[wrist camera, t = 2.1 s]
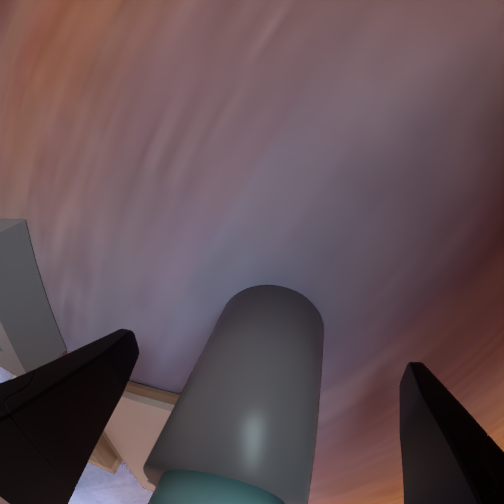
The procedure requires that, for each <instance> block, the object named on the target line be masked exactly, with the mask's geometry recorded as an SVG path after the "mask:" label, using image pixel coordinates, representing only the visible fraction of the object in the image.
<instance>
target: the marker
mask: <svg viewBox="0 0 504 504" xmlns="http://www.w3.org/2000/svg"><path fill="white" fill-rule="evenodd" d="M323 337H324V326H323V321H322V318H321V316H320V313H319V312H318V310H317V309H316V307H315V306H314V305H313V304H312V303H311V302H310V301H309V300H308V299H307V298H306V297H304V296H303V295H301V294H300V293H298V292H296V291H294V290H291V289H288V288H285V287H281V286H275V285H260V286H254V287H250V288H247V289H245V290H243V291H241V292H239V293H238V294H236V295H235V296H234V297H233V298H232V299H230V301H229V302H228V303H227V305H226V307H225V309H224V311H223V313H222V315H221V316H220V318H219V320H218V322H217V324H216V326H215V328H214V330H213V332H212V334H211V336H210V338H209V340H208V342H207V344H206V346H205V348H204V350H203V351H202V353H201V355H200V357H199V359H198V361H197V363H196V365H195V367H194V369H193V371H192V373H191V375H190V377H189V379H188V381H187V383H186V384H185V386H184V388H183V390H182V392H181V394H180V396H179V398H178V400H177V402H176V404H175V406H174V408H173V410H172V412H171V414H170V416H169V417H168V419H167V421H166V423H165V425H164V427H163V429H162V431H161V433H160V435H159V437H158V439H157V441H156V443H155V445H154V446H153V448H152V450H151V452H150V454H149V456H148V458H147V460H146V462H145V464H144V466H143V471H144V474H145V475H146V477H147V478H148V480H149V481H150V482H151V483H152V484H153V485H154V486H155V487H156V488H155V490H154V492H153V494H152V496H151V498H150V501H149V503H148V504H308V498H309V491H310V484H311V477H312V469H313V461H314V452H315V444H316V434H317V424H318V413H319V401H320V388H321V374H322V357H323Z"/></svg>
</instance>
